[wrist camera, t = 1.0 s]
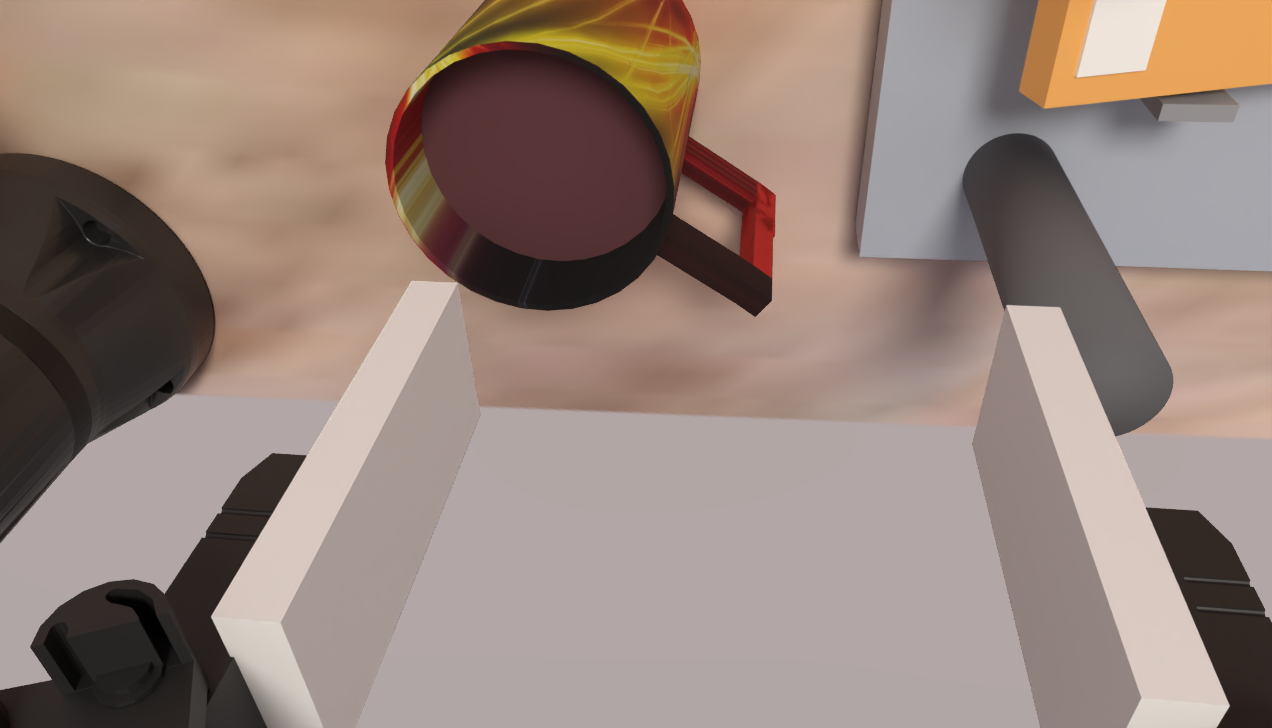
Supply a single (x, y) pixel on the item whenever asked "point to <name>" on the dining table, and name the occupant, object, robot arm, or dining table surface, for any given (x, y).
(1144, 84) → the paddle
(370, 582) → the robot arm
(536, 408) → the dining table surface
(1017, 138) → the cylinder
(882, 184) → the panel
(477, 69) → the mug
